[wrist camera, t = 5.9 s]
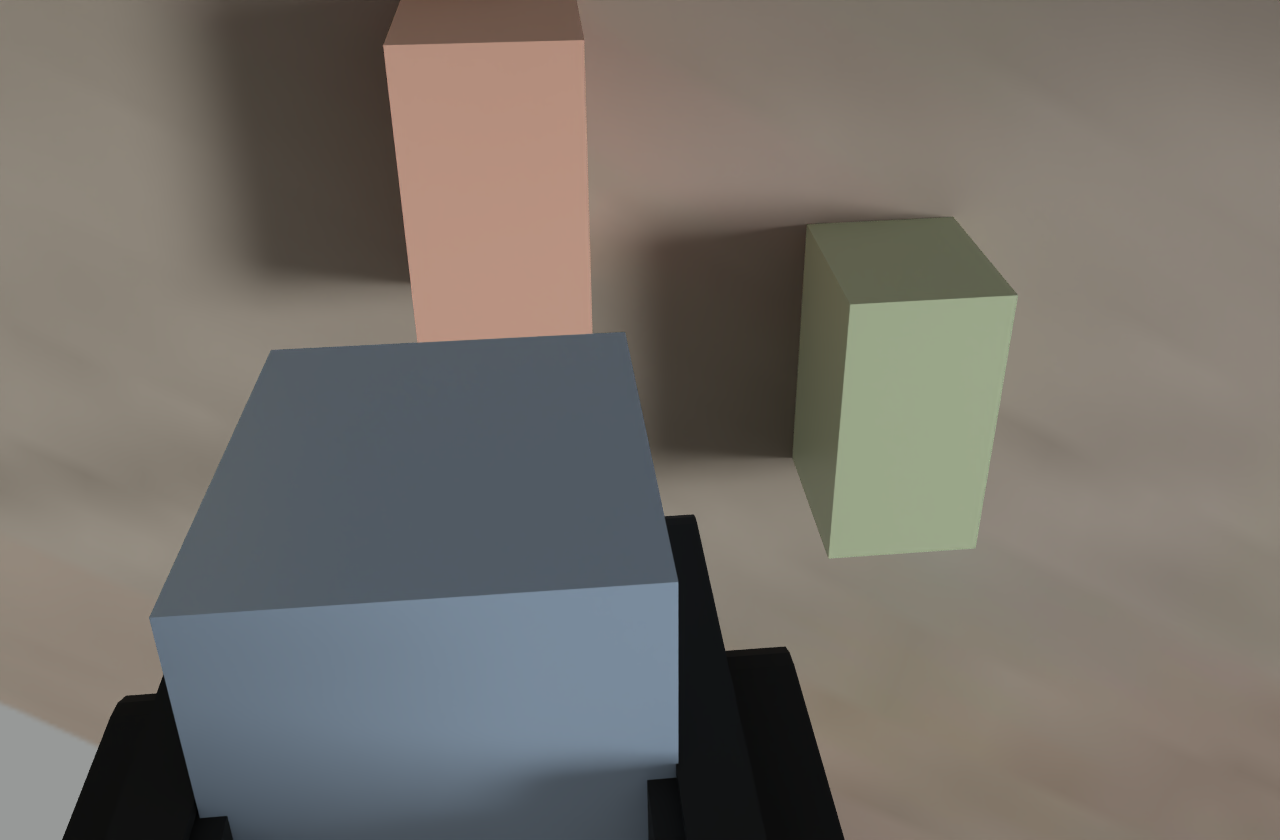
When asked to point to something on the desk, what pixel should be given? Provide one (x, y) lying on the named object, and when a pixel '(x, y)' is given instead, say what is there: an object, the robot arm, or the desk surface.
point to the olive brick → (898, 384)
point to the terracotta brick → (492, 166)
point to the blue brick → (429, 599)
